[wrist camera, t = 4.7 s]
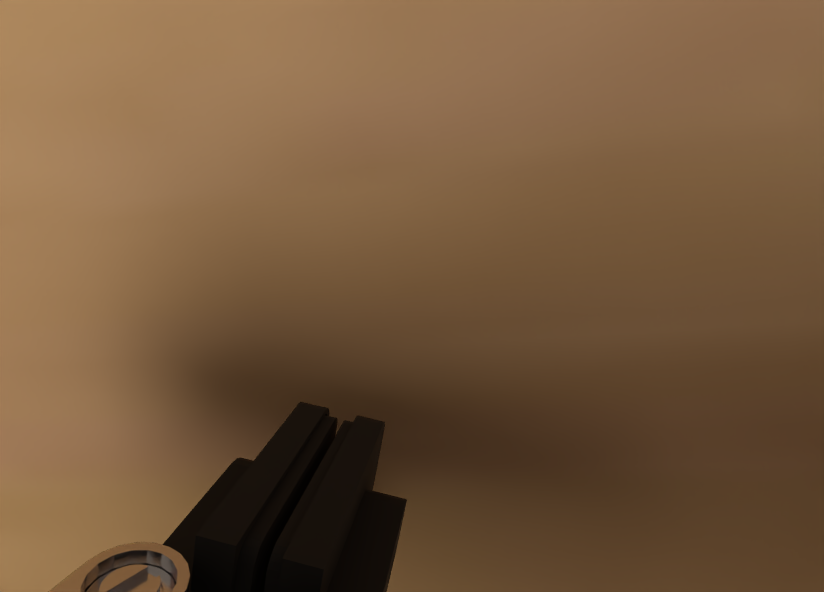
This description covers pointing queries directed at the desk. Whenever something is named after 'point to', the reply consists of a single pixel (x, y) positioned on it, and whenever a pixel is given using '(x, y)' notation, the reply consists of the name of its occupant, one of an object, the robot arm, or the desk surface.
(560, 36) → the desk surface
